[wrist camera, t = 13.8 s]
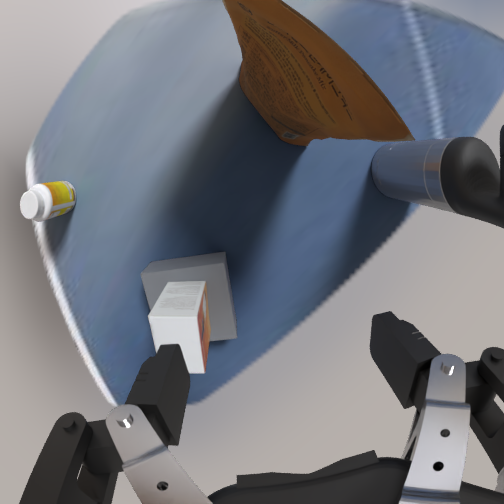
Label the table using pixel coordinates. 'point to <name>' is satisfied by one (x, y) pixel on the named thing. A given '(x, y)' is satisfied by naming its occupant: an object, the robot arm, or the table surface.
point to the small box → (183, 321)
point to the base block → (197, 269)
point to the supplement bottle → (48, 200)
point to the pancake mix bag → (307, 79)
